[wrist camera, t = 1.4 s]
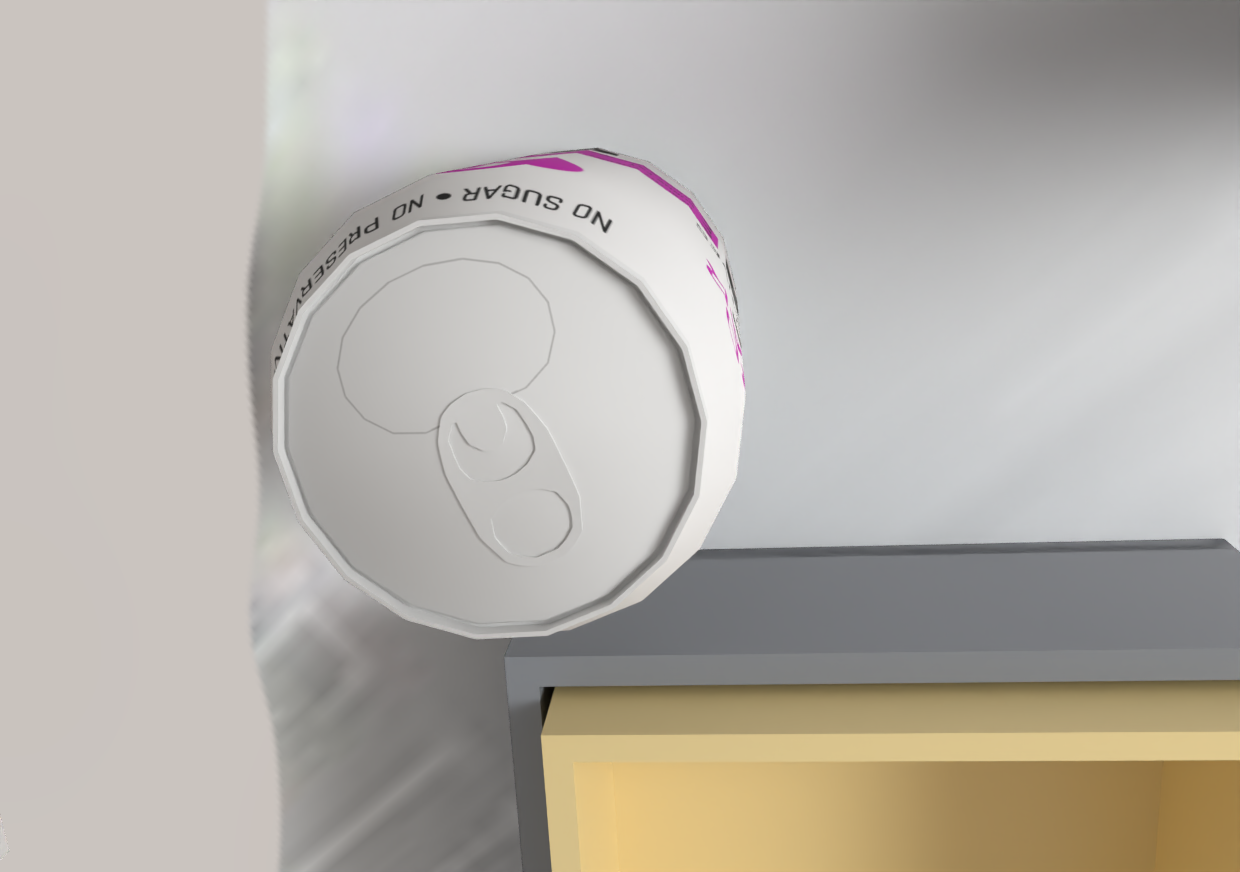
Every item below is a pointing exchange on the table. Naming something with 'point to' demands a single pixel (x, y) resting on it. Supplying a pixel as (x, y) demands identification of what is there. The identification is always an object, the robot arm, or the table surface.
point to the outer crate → (889, 627)
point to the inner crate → (895, 777)
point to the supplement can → (513, 392)
